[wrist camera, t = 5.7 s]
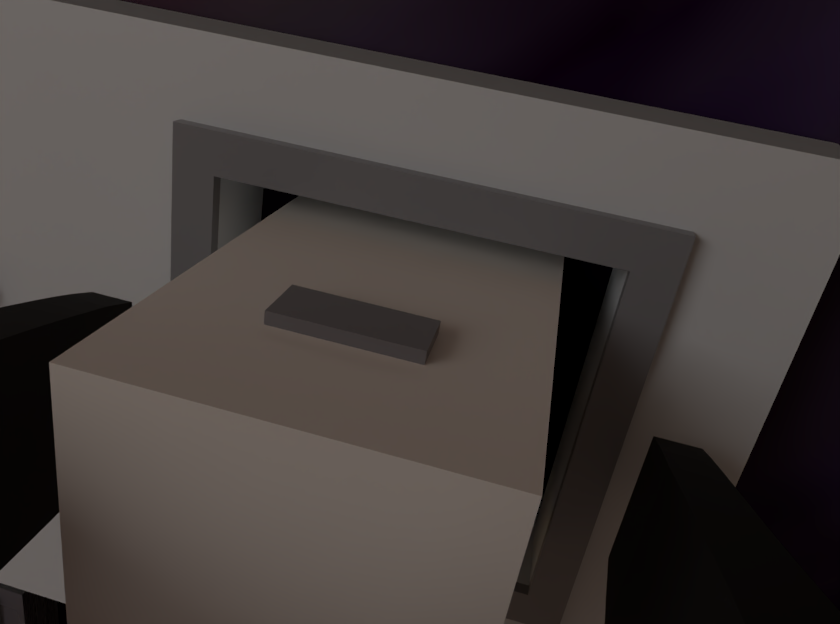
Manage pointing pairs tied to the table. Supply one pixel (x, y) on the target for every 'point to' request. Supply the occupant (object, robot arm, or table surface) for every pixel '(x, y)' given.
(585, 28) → the table surface
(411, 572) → the block
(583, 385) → the outlet plate
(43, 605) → the phone
